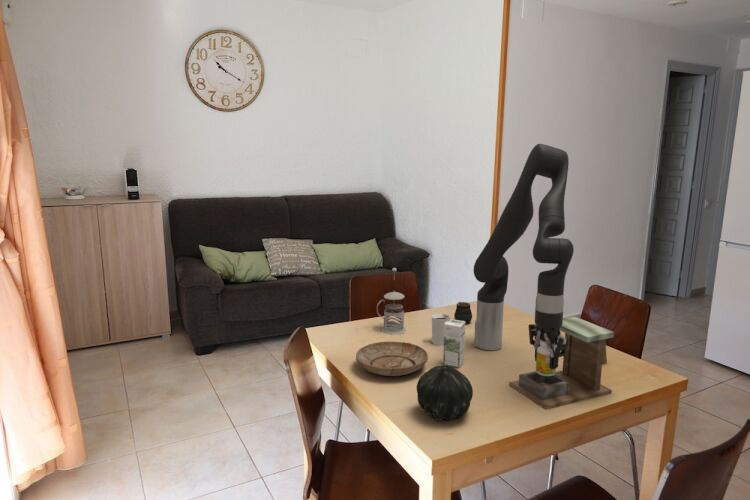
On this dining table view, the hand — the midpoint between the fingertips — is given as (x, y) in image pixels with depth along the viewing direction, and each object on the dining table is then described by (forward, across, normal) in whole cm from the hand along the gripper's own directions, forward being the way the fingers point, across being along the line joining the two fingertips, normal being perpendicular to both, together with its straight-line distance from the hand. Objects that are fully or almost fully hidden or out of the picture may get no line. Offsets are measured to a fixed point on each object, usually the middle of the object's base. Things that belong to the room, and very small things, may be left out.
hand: (545, 364), depth 150 cm
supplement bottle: (+3, 0, 0) cm, 3 cm away
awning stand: (+9, 0, -7) cm, 11 cm away
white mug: (+9, +47, +7) cm, 48 cm away
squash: (+9, +2, +32) cm, 34 cm away
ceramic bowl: (+9, +34, +33) cm, 48 cm away
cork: (+9, +11, -32) cm, 35 cm away
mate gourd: (+9, +62, -13) cm, 64 cm away
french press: (+9, +66, +18) cm, 69 cm away
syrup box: (+9, +28, +13) cm, 32 cm away
